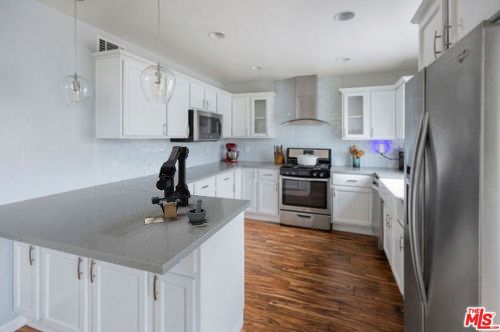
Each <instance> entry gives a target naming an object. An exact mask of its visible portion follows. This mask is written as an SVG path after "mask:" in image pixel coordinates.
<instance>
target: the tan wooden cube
mask: <svg viewBox="0 0 500 332" xmlns="http://www.w3.org/2000/svg"><path fill="white" fill-rule="evenodd" d="M175 203H176V202H170V203H167V202H166V203H163V206H164V211H165V215H164V216H165V218H168V217H176V206H175Z"/></svg>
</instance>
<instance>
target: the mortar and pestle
mask: <svg viewBox="0 0 500 332" xmlns="http://www.w3.org/2000/svg"><path fill="white" fill-rule="evenodd" d="M202 203H203V200H202V199H197V201H196V206H195V208H192V209H188V210H187V211H186V214H187V219H189V221H190V222H191V223H193V224H191V226H194V227H197V226H201V224H202V225H203V223H204V222H203V221H204V219H205V218H206V216H207V210H206V209H204V208H202Z"/></svg>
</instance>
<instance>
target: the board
mask: <svg viewBox="0 0 500 332" xmlns="http://www.w3.org/2000/svg"><path fill="white" fill-rule="evenodd" d="M142 218H143V225H145V226H146V225H152V224H159V223H160V224H161V223H167V222H175V221H181V219H180V216H179V215H178V213H176V217H168V218H165V216H164V214H163V213H162V214H157V215H147V216H143V217H142Z"/></svg>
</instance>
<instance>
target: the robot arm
mask: <svg viewBox="0 0 500 332" xmlns="http://www.w3.org/2000/svg"><path fill="white" fill-rule="evenodd" d="M189 154H190V149H189V148H188V147H187V146H181V145H173V146H172V150H171V152H170V154H169V157H168V159H167V160H166V161H164V162H163V163H162V165H161V166H160V169H159V173H158V180H157V181H156V184H155V186H156V188H157V189H156V190H159V191H163V197H160V196H152V197H150V198H151V200H150V201H151V204H152V205H158V206H160V208H161V211H162V215H163V214H164V215H165V211H164V202H165V203H166V204H167V203H175V206H176V213H177V212H178V209H179V207H186V206H187V207H188V206H189V203H190V201H189V199H191V197H192V193H191V191H190V190H189V186H188V184H187V183H186V182H187V181H186V180H187V179H186V177H187V176H186V174H187V173H186V171H187V169H186V166H187V165H186V164H187V163H186V162H187V159H188V157H189ZM176 164H177V166H176ZM176 173H178V174H177V184H176V185H175V176H176ZM177 214H178V213H177Z"/></svg>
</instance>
